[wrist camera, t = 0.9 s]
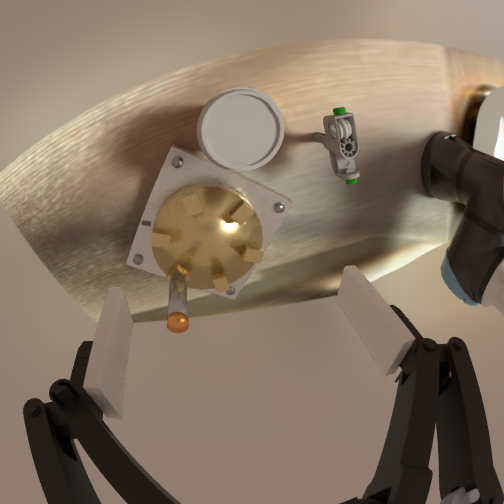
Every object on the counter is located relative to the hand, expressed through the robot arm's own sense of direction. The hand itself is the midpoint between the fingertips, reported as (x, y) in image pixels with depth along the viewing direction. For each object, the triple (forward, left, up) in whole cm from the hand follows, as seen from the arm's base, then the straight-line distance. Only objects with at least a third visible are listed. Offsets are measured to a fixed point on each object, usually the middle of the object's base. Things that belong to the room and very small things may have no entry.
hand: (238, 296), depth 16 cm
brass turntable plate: (-3, +8, -25) cm, 27 cm away
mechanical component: (-12, -13, -28) cm, 34 cm away
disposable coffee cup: (+1, -8, -28) cm, 30 cm away
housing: (-3, +8, -28) cm, 30 cm away
